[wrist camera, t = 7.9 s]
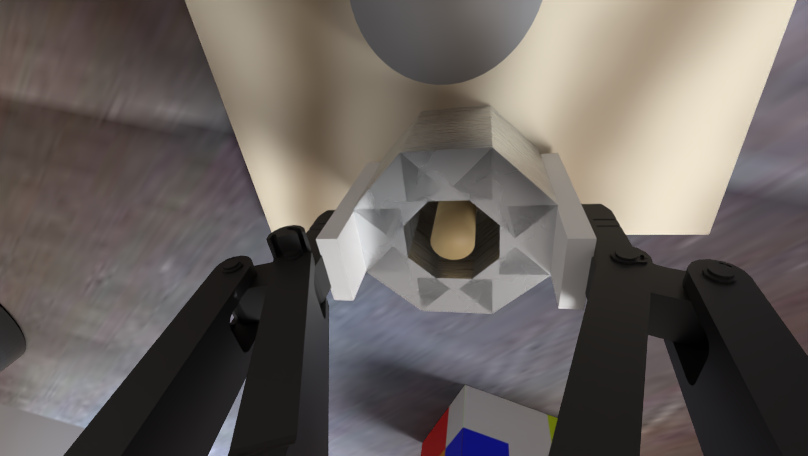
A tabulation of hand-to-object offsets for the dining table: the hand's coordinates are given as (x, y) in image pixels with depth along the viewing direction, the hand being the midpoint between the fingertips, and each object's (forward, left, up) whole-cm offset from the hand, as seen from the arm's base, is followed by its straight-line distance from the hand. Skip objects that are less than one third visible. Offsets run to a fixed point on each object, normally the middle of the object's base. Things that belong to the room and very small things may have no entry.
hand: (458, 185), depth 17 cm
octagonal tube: (0, 0, 0) cm, 0 cm away
